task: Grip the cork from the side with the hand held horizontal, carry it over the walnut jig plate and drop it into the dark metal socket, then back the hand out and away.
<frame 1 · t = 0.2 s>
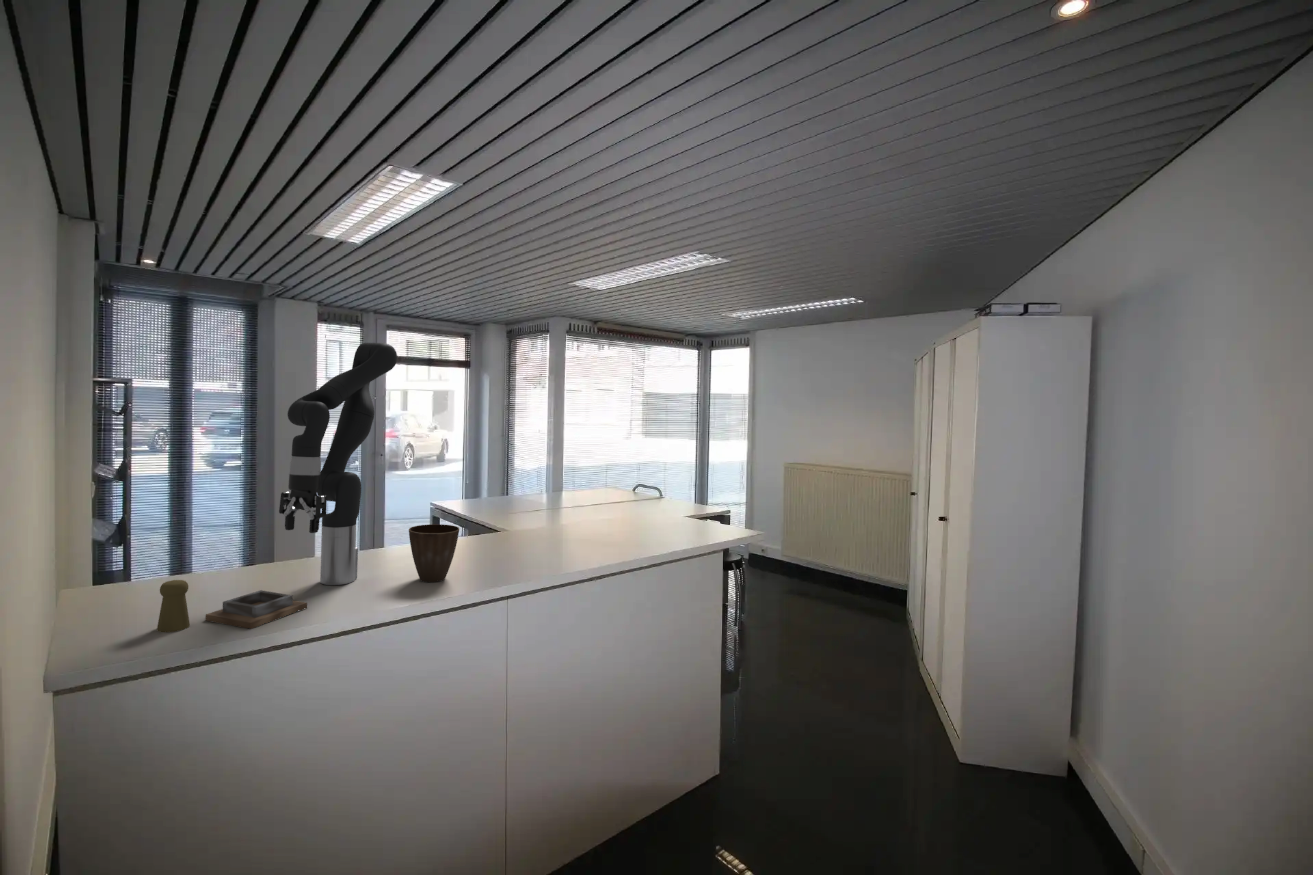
hand: (301, 531, 167), 18 cm above the table, tool pointing down, fingers open, 8 cm apart
plant pot: (432, 579, 189), on the table
cork: (173, 628, 140), on the table
jig: (258, 614, 152), on the table
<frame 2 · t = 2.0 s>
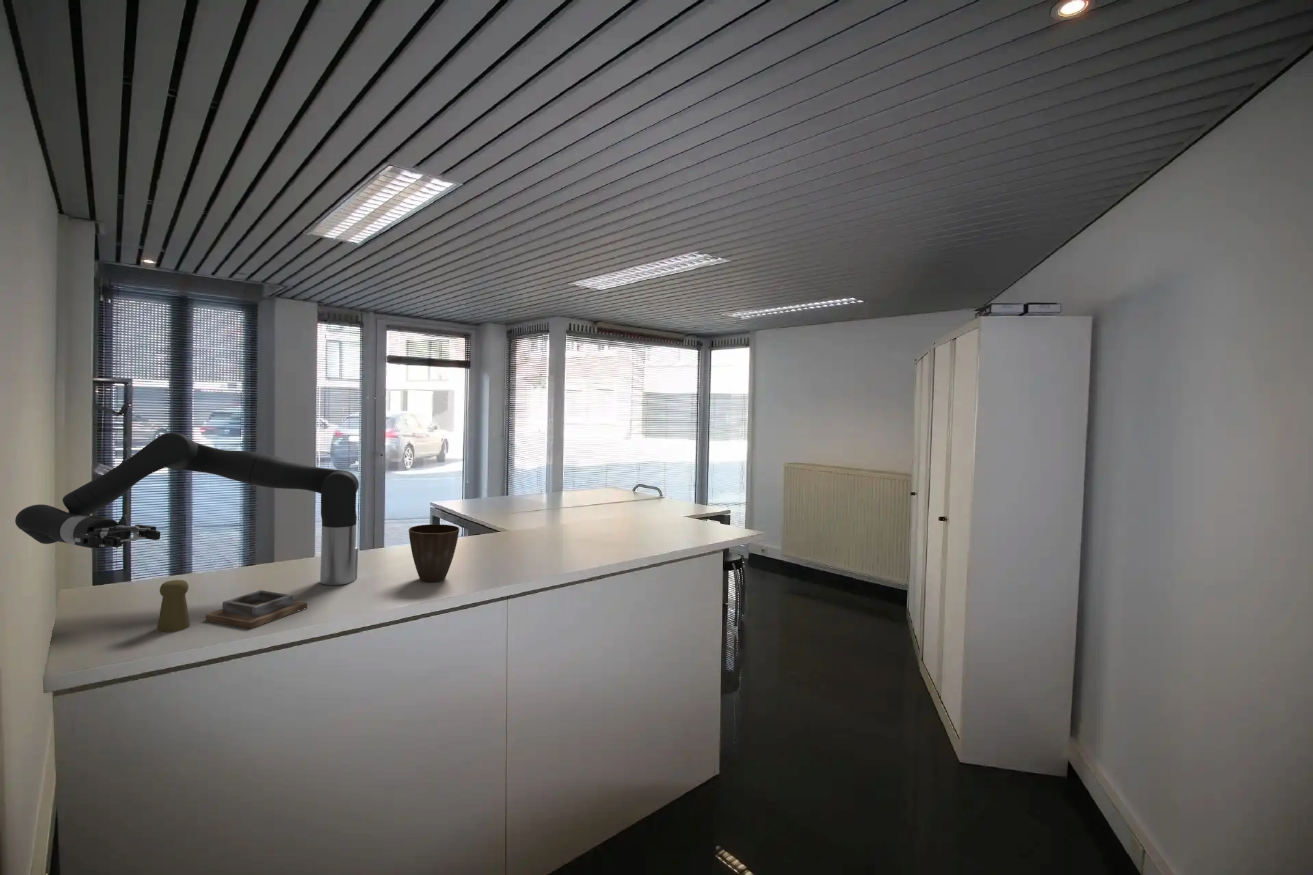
hand: (139, 538, 142), 20 cm above the table, tool horizontal, fingers open, 8 cm apart
nothing on the table moved.
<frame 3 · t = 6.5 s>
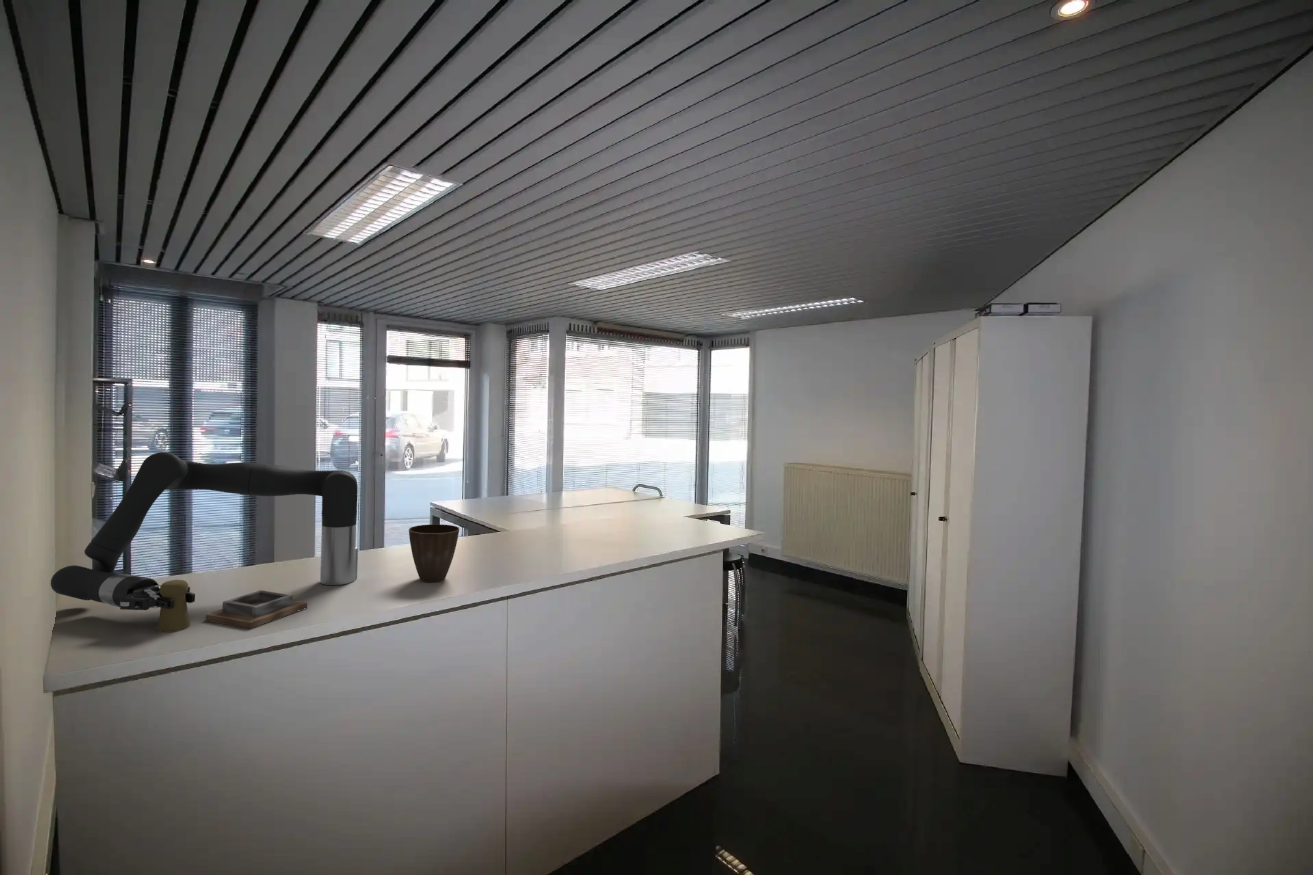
hand: (182, 601, 139), 7 cm above the table, tool horizontal, fingers closed on cork, 4 cm apart
cork: (173, 628, 140), on the table, touching gripper
everything else where it was.
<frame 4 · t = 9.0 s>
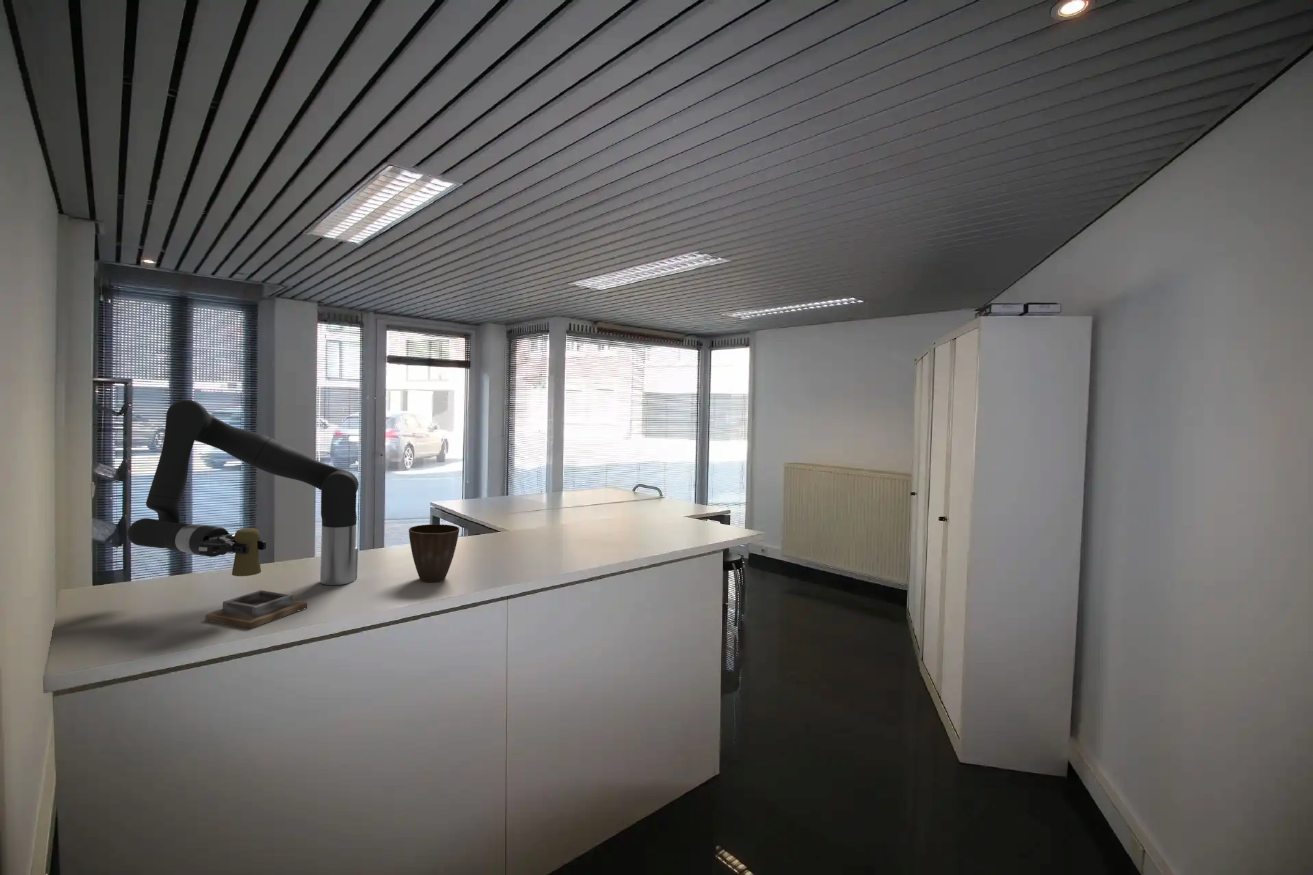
hand: (256, 547, 148), 18 cm above the table, tool horizontal, fingers closed on cork, 4 cm apart
cork: (246, 573, 149), point 11 cm above the table, touching gripper
everything else where it was.
when the fingers open (9 cm above the table, at t = 11.6 s): cork stays where it is, point 2 cm above the table.
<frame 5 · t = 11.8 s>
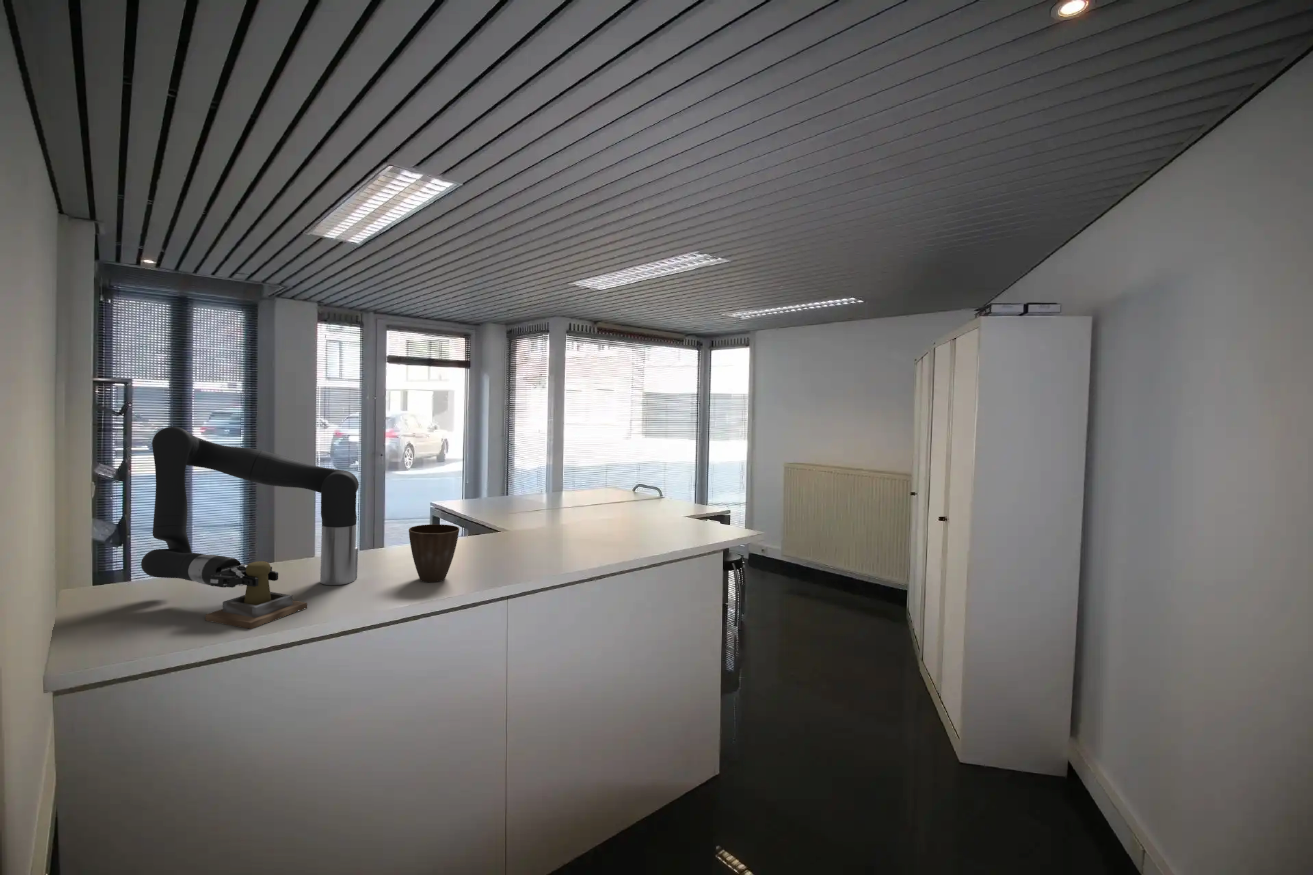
hand: (267, 579, 150), 9 cm above the table, tool horizontal, fingers open, 5 cm apart
cork: (257, 606, 151), point 2 cm above the table, touching gripper
everything else where it was.
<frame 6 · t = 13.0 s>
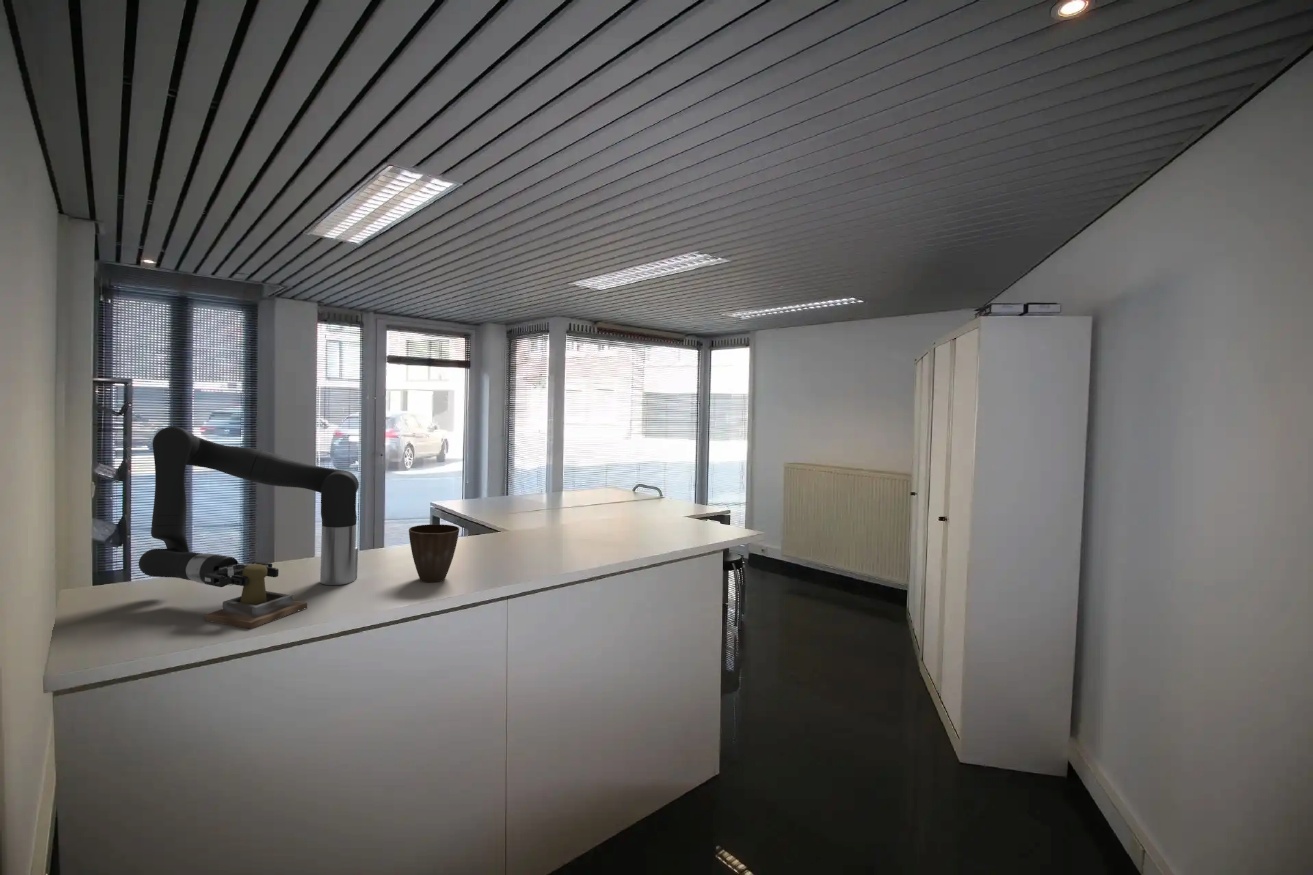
hand: (262, 577, 151), 10 cm above the table, tool horizontal, fingers open, 8 cm apart
cork: (253, 608, 151), point 2 cm above the table, touching jig
everything else where it was.
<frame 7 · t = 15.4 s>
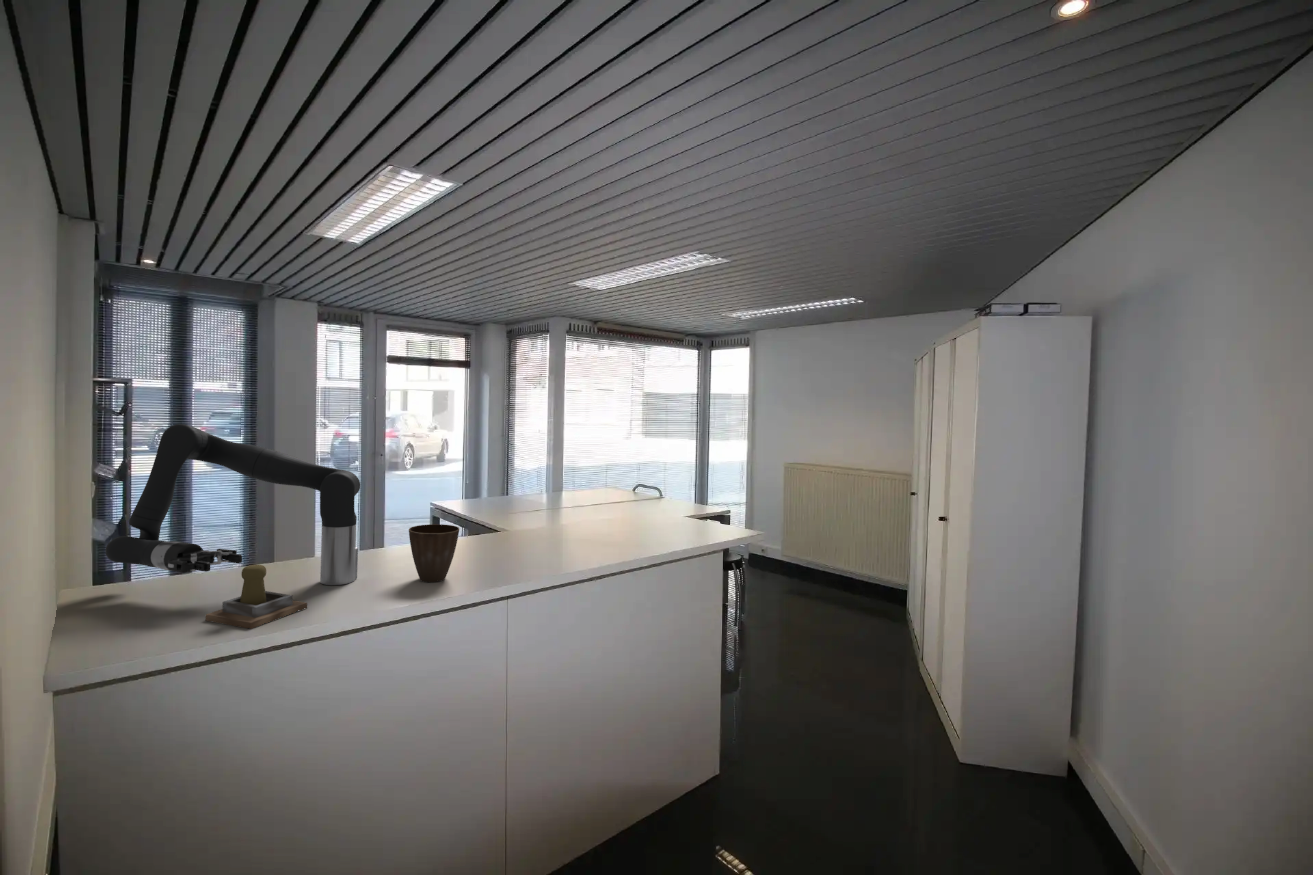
hand: (225, 563, 154), 12 cm above the table, tool horizontal, fingers open, 8 cm apart
nothing on the table moved.
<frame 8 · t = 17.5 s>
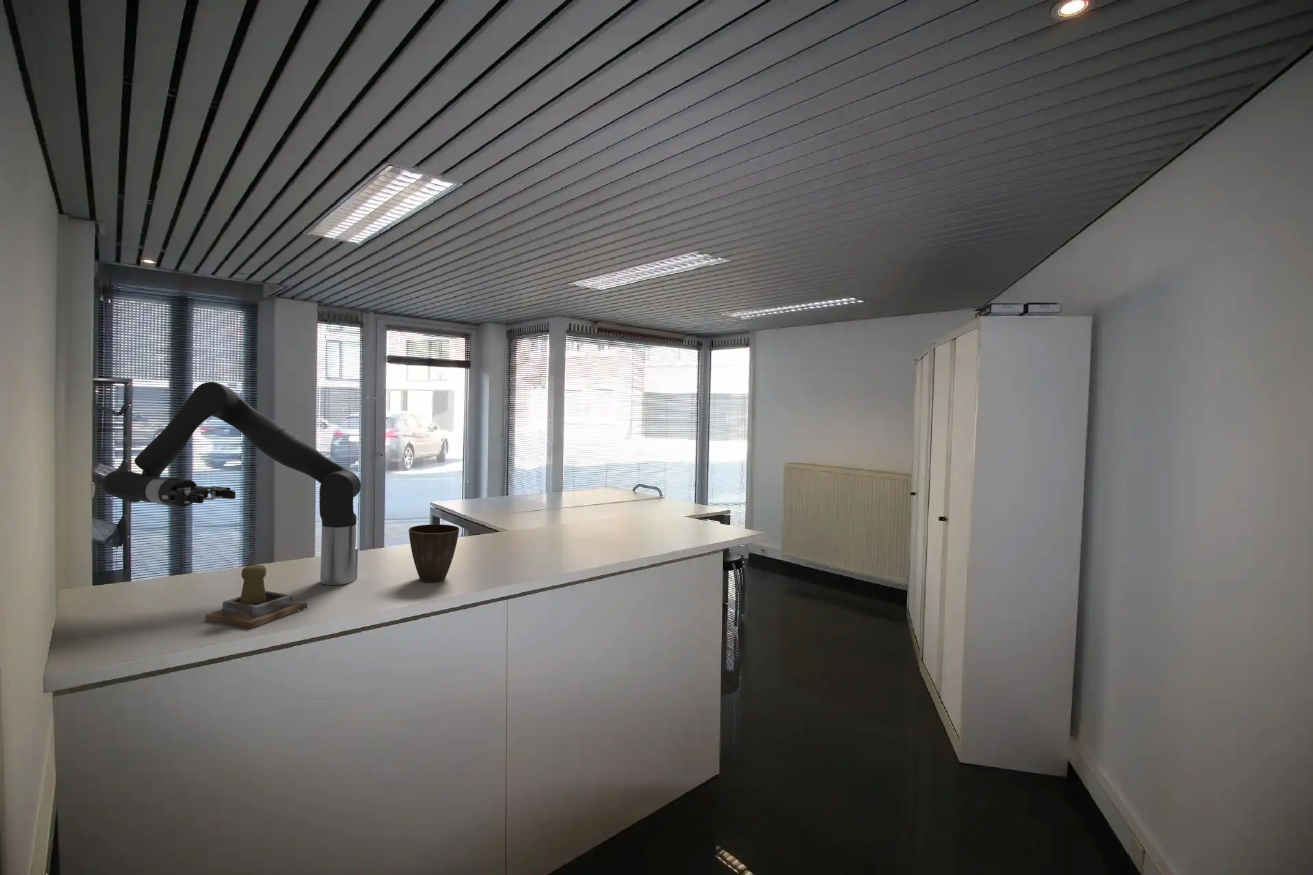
hand: (218, 497, 156), 28 cm above the table, tool horizontal, fingers open, 8 cm apart
nothing on the table moved.
at the end: cork 1.2 cm off-centre on the jig, point 1.3 cm above the jig's base; cork tilted 0°; the gripper is holding nothing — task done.
